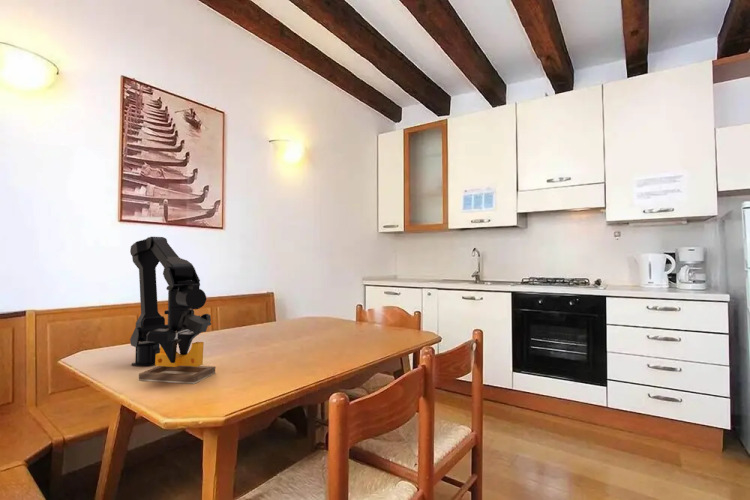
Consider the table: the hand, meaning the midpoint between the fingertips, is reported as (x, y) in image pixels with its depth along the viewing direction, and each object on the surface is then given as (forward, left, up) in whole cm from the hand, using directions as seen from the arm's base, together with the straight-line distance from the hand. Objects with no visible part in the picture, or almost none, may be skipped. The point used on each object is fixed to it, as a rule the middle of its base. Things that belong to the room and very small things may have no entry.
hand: (178, 360), depth 112 cm
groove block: (0, 0, -5) cm, 5 cm away
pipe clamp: (0, 0, -1) cm, 1 cm away
